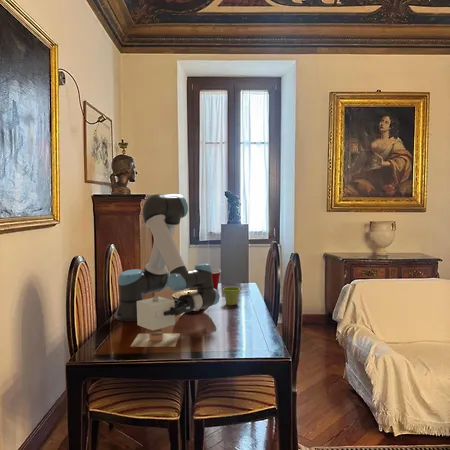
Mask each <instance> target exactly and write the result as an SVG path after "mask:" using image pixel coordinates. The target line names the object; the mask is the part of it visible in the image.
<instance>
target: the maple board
mask: <svg viewBox="0 0 450 450" xmlns="http://www.w3.org/2000/svg"><path fill="white" fill-rule="evenodd" d="M149 334H150V333H138V334H137V335H136V337H135V338H134V340H133V342H132V343H131V345H130V346H129V347H130V348H140V347H142V348H144V347H145V348H146V347H147V348H153V347H154V348H159V347H160V348H162V347H163V348H164V347H167V348H168V347H172V348H173V347H174V348H175V347H176V345H177V344H178V340H179V338H180V335H181V333H163V340H162V341H160V342H151V341H149Z"/></svg>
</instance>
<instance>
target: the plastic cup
mask: <svg viewBox="0 0 450 450" xmlns="http://www.w3.org/2000/svg"><path fill="white" fill-rule="evenodd" d="M211 269H212V280H213V288H214V289H216V290H217V289H219V281H220V276H221V272H222V270H221V269H220V268H211Z"/></svg>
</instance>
